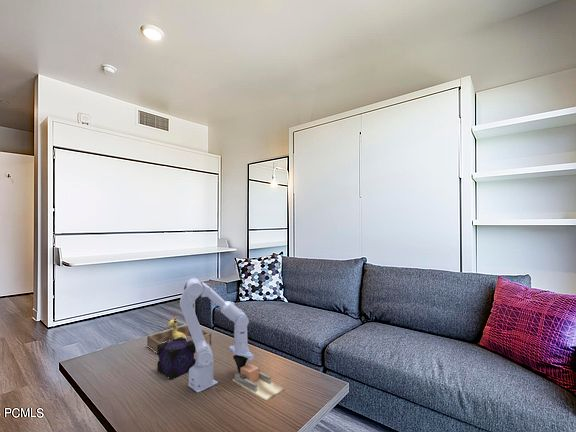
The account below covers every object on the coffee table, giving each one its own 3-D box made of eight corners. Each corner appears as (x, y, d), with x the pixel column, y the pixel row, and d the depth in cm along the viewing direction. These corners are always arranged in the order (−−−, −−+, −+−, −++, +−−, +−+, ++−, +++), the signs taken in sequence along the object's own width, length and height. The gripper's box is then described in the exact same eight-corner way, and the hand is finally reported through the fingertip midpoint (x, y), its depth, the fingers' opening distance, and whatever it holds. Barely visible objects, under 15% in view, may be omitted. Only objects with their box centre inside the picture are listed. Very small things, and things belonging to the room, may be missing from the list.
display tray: (167, 360, 146) (167, 348, 146) (147, 347, 162) (147, 336, 162) (211, 344, 165) (211, 333, 165) (189, 334, 180) (189, 324, 180)
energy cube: (181, 361, 145) (181, 336, 145) (195, 369, 137) (195, 343, 138) (157, 371, 136) (157, 344, 136) (171, 380, 128) (171, 352, 128)
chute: (266, 401, 112) (266, 391, 112) (232, 381, 126) (232, 372, 127) (284, 389, 120) (284, 380, 120) (250, 372, 134) (250, 364, 134)
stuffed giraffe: (161, 342, 167) (162, 314, 166) (194, 338, 174) (195, 311, 174) (162, 355, 152) (163, 324, 152) (198, 349, 160) (199, 320, 160)
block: (249, 384, 123) (249, 372, 123) (240, 379, 127) (240, 367, 127) (258, 379, 126) (258, 367, 126) (249, 374, 130) (249, 363, 130)
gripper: (258, 341, 129) (259, 373, 129) (237, 333, 138) (238, 363, 138) (246, 347, 124) (246, 380, 123) (225, 338, 133) (225, 368, 133)
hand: (241, 371), depth 130 cm, fingers closed
